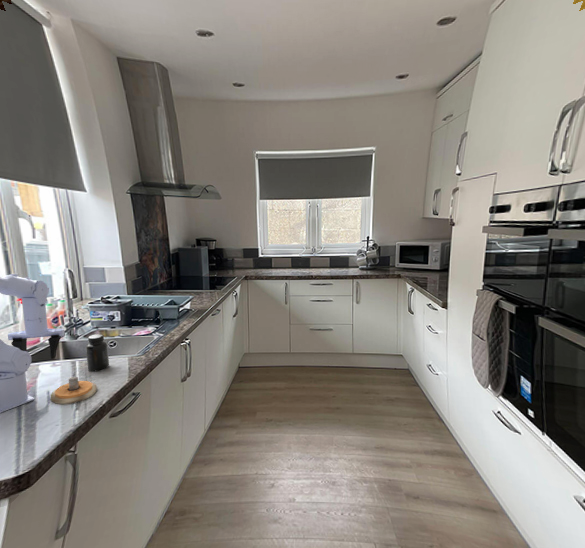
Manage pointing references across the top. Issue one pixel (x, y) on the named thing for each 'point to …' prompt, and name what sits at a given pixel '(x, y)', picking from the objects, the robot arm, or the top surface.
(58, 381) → the top surface
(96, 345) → the supplement bottle
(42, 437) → the top surface
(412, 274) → the top surface
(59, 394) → the rubber ring
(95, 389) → the post stand
